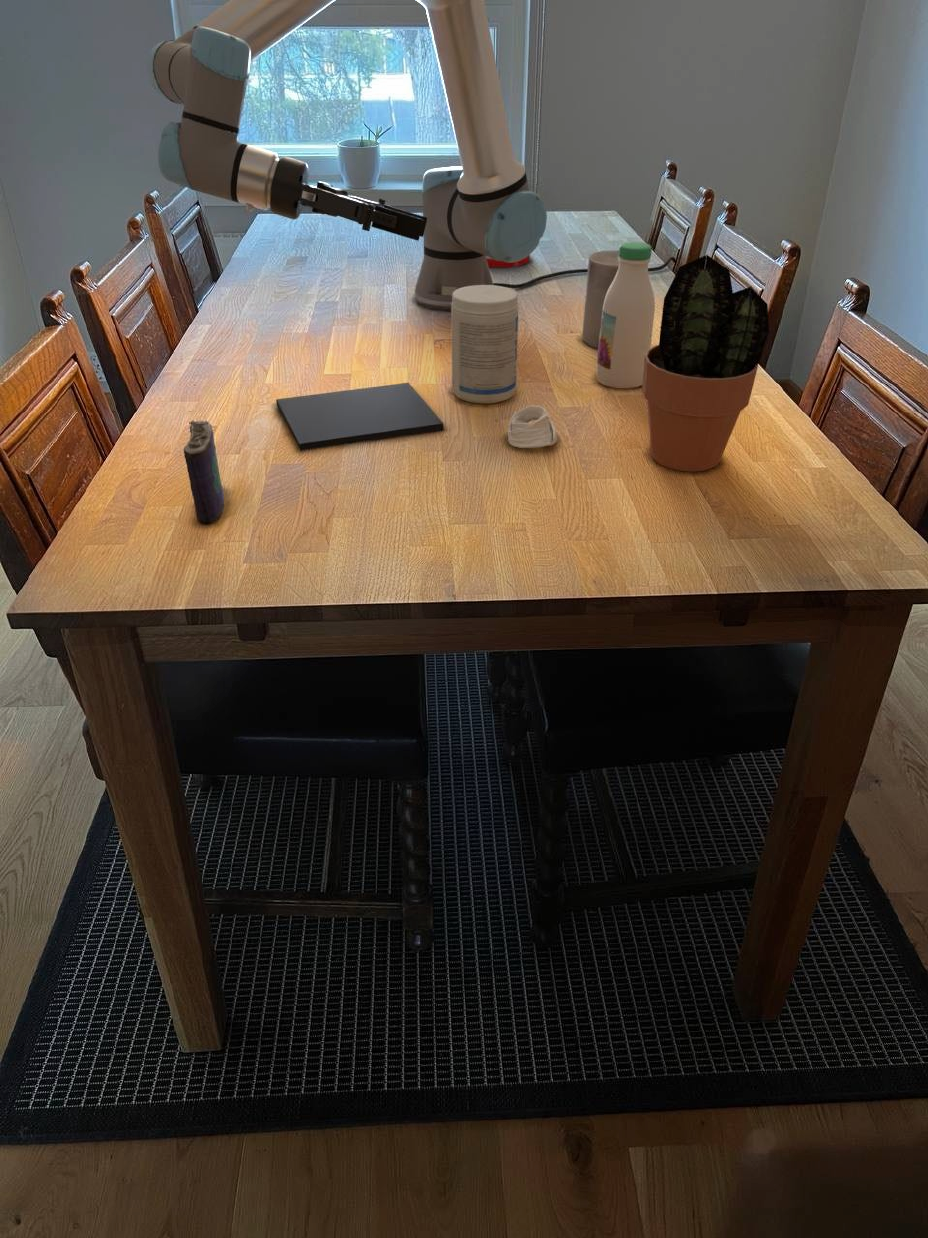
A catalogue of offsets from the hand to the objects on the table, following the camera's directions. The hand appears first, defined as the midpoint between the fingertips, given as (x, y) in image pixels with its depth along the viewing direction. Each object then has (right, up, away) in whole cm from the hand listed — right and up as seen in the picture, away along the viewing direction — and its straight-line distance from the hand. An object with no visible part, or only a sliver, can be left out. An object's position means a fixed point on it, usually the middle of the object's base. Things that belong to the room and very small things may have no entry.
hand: (423, 228), depth 129 cm
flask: (-24, -42, -21) cm, 53 cm away
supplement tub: (+9, -21, +8) cm, 24 cm away
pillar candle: (+31, -8, +28) cm, 42 cm away
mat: (-9, -27, 0) cm, 28 cm away
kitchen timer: (+13, +24, +71) cm, 76 cm away
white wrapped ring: (+15, -31, -6) cm, 35 cm away
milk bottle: (+30, -18, +13) cm, 37 cm away
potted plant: (+35, -34, -9) cm, 49 cm away
